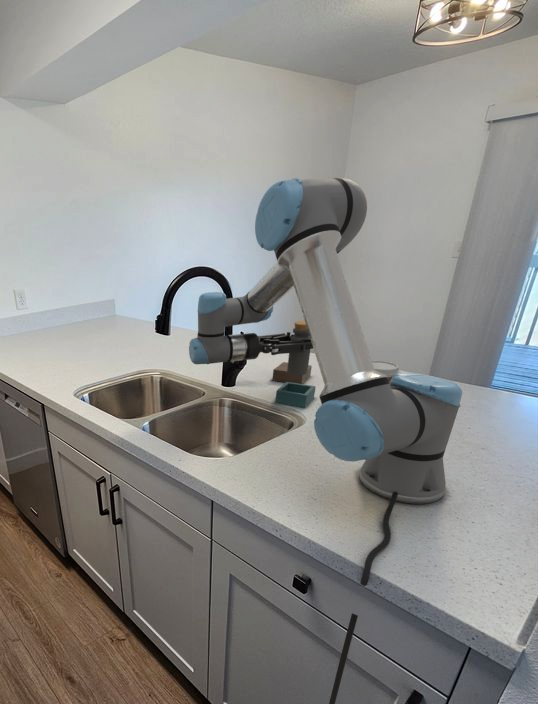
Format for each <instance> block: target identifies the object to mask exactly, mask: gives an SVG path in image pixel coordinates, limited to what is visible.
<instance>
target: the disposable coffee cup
mask: <svg viewBox="0 0 538 704" xmlns="http://www.w3.org/2000/svg"><path fill="white" fill-rule="evenodd" d="M372 363H373V366H374V369H375V370H376V371H378V372H380V373H382V374H385V375H387V378H388V381H389V382H390V381H391V379H392V376H393V375H395V374H397V373H400V370H399V365H398V364H396V363H394V362H390V361H384V360H372ZM389 384H390V383H389Z"/></svg>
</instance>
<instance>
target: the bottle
mask: <svg viewBox="0 0 538 704" xmlns="http://www.w3.org/2000/svg"><path fill="white" fill-rule="evenodd" d="M292 333H293V334H295V335H294V336H292V337H291V341H302V340H304V339H310V336H309V332H308V329H307V326H306V323H305V320H302V321H301V320H298V321H295V322H294V328H293V329H292ZM310 356H311V349H305V350H304V352H303V353H301V352H297V353H288V360H287V363H288V367H287V373H289V374H291V375H305V374H307V371H308V365H309V363H310Z"/></svg>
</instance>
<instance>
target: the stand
mask: <svg viewBox="0 0 538 704" xmlns="http://www.w3.org/2000/svg"><path fill="white" fill-rule="evenodd" d="M287 367H288V361H287V362H286V361H283V362H281V363H280V364H279V365H277V366H276V367H275V368H273V369H272V380H271V381H273V382H277V383H284V384H285V383H286V382H291V383H298V384H304V383H306V381H307V380H308V379H310V378H311V376H312V375H311V374H312V367H313V366H312V365H311V364H310V365H309V364H308V371H307V374H305V375H291V374H289V373H287Z"/></svg>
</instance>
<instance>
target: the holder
mask: <svg viewBox="0 0 538 704" xmlns="http://www.w3.org/2000/svg"><path fill="white" fill-rule="evenodd" d="M275 391H276V392H275V400H274V403H275V404H281V405H286V406H292V407H297V408H304V409H305V408H307V406H308V405H309V404H310V403H311V402H312V401H313V400H314V399H315V395H316V394H315V393H316V385H311V384H304V383H303V384H298V383H291V382H286V383H285V382H284V383H283V384H282V385H281V386H280V387H279V388H277V389H276V390H275Z"/></svg>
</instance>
